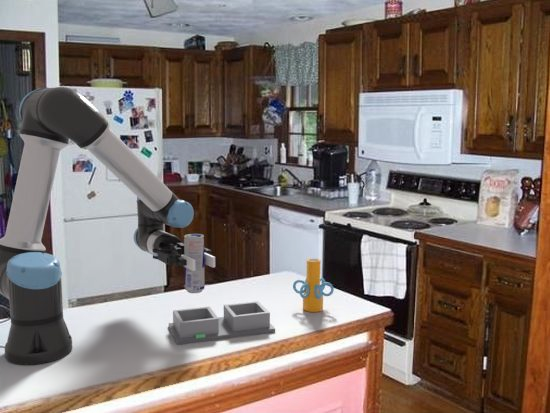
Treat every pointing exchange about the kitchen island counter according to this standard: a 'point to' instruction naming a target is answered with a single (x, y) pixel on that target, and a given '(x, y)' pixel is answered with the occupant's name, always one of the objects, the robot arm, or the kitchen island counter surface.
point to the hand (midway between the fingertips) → (204, 263)
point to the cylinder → (313, 287)
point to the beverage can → (196, 252)
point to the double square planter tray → (220, 323)
